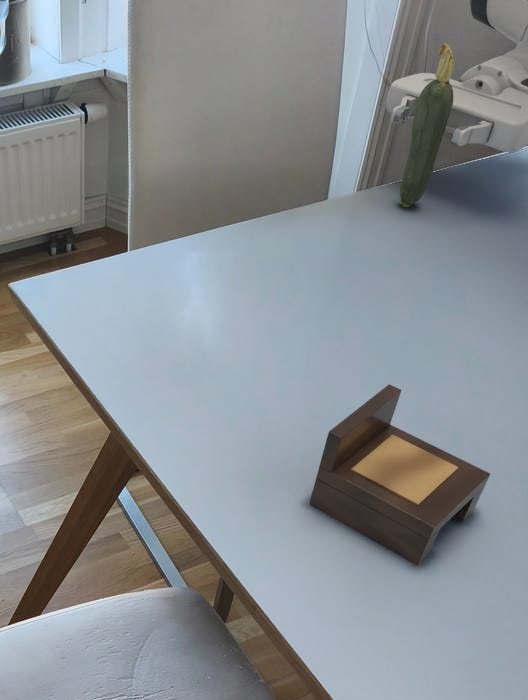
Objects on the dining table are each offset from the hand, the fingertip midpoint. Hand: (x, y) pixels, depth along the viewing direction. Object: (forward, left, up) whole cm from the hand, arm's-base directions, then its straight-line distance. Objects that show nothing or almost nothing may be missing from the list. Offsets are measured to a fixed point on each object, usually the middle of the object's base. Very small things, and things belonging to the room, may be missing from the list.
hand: (425, 127), depth 115 cm
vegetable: (0, -1, -11) cm, 11 cm away
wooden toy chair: (-32, +54, -11) cm, 64 cm away
